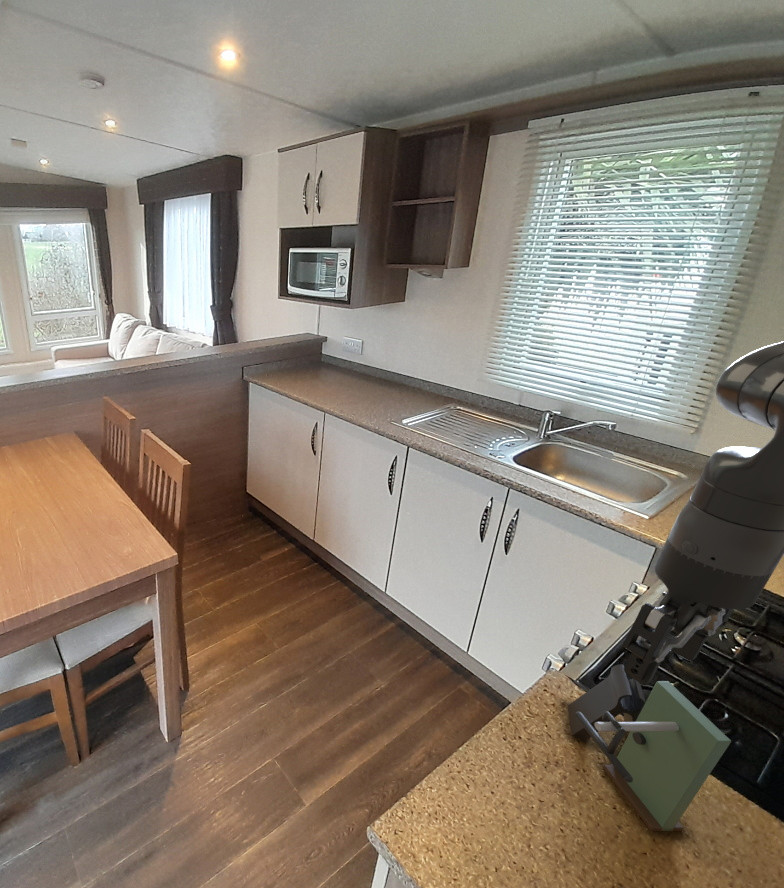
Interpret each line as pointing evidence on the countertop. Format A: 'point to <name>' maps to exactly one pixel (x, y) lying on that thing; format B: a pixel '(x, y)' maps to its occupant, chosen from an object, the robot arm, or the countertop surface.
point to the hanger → (613, 744)
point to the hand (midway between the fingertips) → (659, 665)
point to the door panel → (666, 756)
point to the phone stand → (607, 702)
